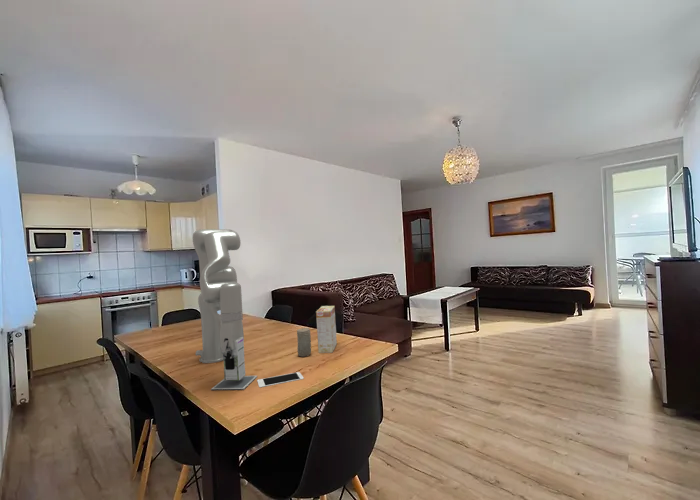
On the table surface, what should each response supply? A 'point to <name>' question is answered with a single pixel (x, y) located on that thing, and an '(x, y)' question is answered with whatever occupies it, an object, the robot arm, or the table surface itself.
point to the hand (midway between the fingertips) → (234, 365)
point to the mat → (235, 384)
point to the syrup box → (236, 362)
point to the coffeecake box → (326, 329)
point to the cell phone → (279, 379)
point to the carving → (304, 342)
